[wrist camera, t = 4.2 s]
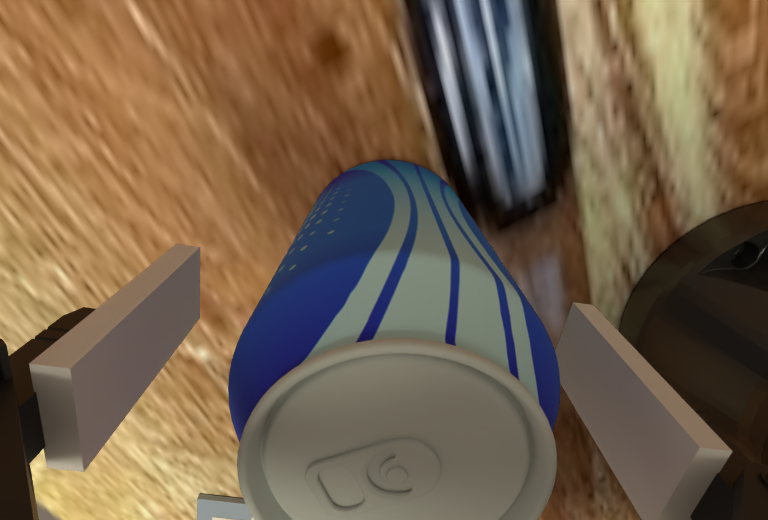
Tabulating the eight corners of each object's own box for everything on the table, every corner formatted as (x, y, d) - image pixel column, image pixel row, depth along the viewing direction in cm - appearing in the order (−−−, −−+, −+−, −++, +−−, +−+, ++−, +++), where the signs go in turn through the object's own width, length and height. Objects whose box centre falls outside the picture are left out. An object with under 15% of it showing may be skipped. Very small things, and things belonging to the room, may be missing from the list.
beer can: (335, 132, 22) (236, 236, 7) (489, 186, 23) (690, 375, 8) (293, 277, 25) (161, 567, 10) (431, 318, 26) (498, 637, 11)
